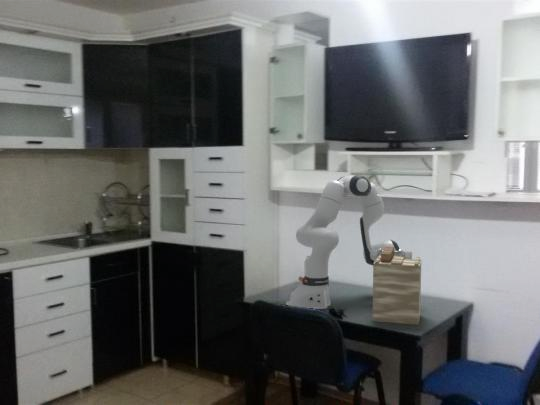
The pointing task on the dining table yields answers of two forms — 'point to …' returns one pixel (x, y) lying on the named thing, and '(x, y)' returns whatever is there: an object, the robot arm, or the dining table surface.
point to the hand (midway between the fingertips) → (389, 250)
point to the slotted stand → (397, 290)
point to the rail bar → (387, 254)
